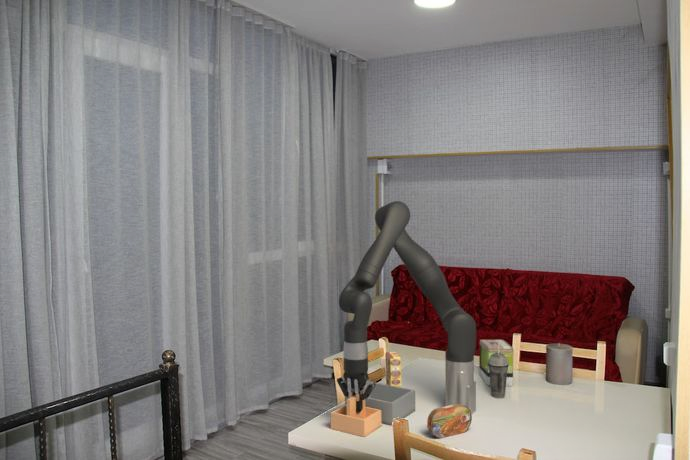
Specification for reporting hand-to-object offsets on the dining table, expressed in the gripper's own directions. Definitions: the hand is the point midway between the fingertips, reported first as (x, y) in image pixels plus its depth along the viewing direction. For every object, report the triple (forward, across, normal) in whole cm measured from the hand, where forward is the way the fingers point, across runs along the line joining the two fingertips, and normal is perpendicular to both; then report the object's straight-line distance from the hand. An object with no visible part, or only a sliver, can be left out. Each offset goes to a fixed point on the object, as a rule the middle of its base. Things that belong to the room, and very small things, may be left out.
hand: (356, 411), depth 175 cm
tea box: (+5, -20, -70) cm, 73 cm away
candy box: (+5, +4, -31) cm, 32 cm away
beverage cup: (+5, -27, -52) cm, 59 cm away
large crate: (+5, 0, -15) cm, 16 cm away
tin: (+5, -26, -11) cm, 29 cm away
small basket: (+5, 0, 0) cm, 5 cm away
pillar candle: (+5, -41, -82) cm, 92 cm away
